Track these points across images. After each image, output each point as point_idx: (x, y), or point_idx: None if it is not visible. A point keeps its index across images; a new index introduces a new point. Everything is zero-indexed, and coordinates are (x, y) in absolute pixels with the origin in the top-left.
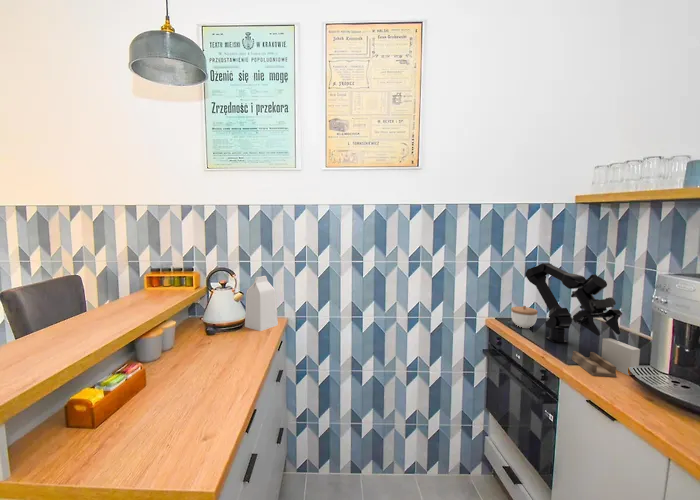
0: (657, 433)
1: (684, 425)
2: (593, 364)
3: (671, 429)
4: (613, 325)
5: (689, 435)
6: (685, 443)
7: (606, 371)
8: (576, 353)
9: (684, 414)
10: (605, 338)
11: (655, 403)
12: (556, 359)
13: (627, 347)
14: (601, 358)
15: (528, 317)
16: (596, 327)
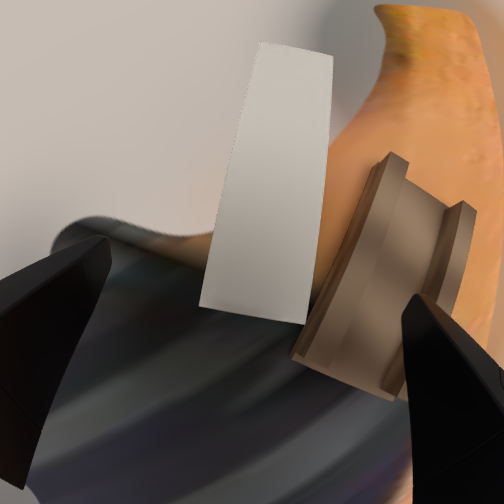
0: (478, 39)
1: (418, 13)
2: (467, 215)
3: (450, 26)
4: (31, 349)
5: (435, 11)
6: (457, 16)
7: (399, 196)
8: None
9: (381, 13)
10: (270, 317)
11: (404, 48)
12: None
13: (319, 85)
14: (365, 257)
15: None
16: (468, 355)
